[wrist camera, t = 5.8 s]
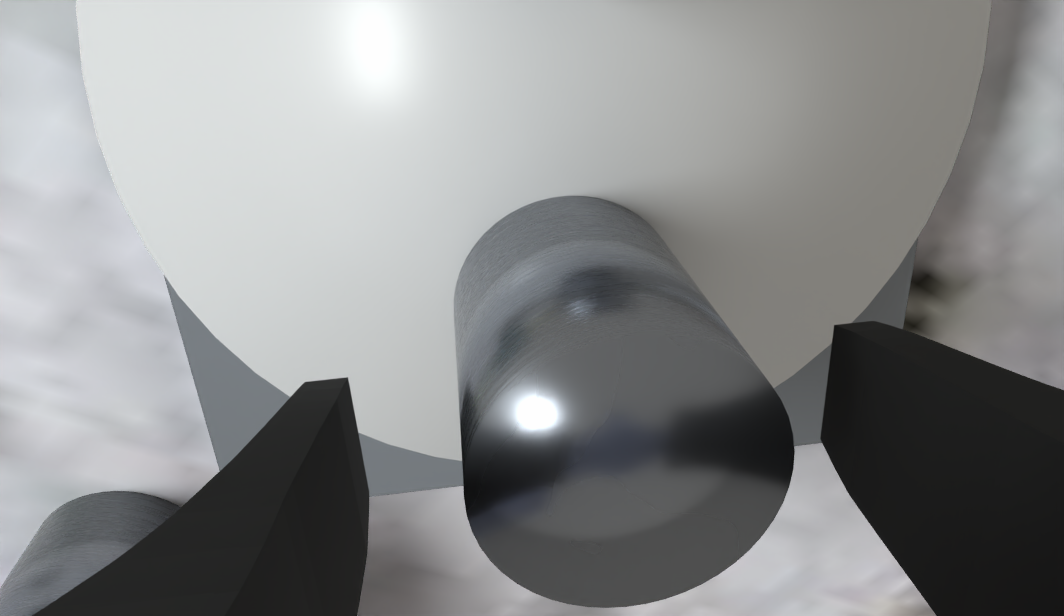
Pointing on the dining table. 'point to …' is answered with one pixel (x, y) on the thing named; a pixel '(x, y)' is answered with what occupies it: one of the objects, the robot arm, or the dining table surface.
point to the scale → (513, 176)
